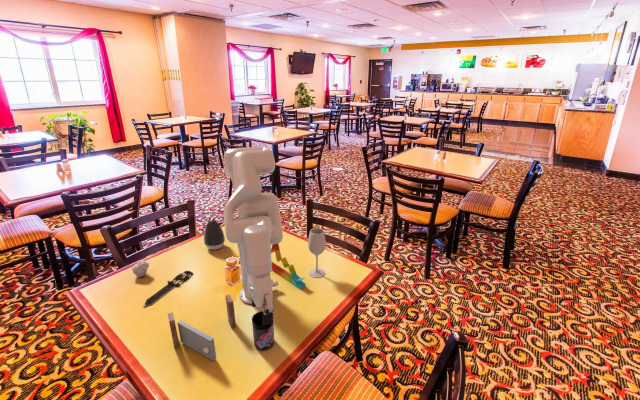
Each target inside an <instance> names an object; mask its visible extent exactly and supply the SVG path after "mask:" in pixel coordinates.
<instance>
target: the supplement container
mask: <svg viewBox="0 0 640 400" xmlns="http://www.w3.org/2000/svg"><path fill="white" fill-rule="evenodd" d="M262 313H263V311H262V310H260V311H257V312H255V313H254V314H253V316H252V317H251V324H252V325H251V326H252V334H253V335H252V337H253V345H254V347H255V348H256V349H257V350H260V351H266V350H270V349H271V348H272V347H273V345H274V344H275V330H274V329H275V327H274V324H275V323H274V321H273V322H272V323H269V324H266V325H263V320H262Z"/></svg>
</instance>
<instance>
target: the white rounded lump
mask: <svg viewBox="0 0 640 400" xmlns="http://www.w3.org/2000/svg"><path fill="white" fill-rule="evenodd" d="M149 266H150V262H148V261H146V260H144V259H142V260H141V261H139V262H137V263H136V264H134V265H133V266H132V267H131V270H132V273H133V274H134V275H135V276H136V277H141V278H142V277H145V275H146V274H147V272H148V269H149Z"/></svg>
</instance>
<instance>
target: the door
mask: <svg viewBox="0 0 640 400" xmlns="http://www.w3.org/2000/svg"><path fill="white" fill-rule="evenodd" d="M176 323H177V328H178V333H179V339H180V343H182V344H184V345H185V346H187V347H189V348H190V349H192V350H193V351H195V352H197V353H199V354H200V355H203V356H204V357H205V358H207V359H209V360H211V361H212V362H214V361H216V360H217V354H216V346H215V340H214V337H212V336H210V335H208V334H207V333H205V332H203V331H201V330H199V329H197V328H196V327H194V326H192V325H190V324H188V323H186V322H184V321H182V320H179V321H178V322H176Z"/></svg>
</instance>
